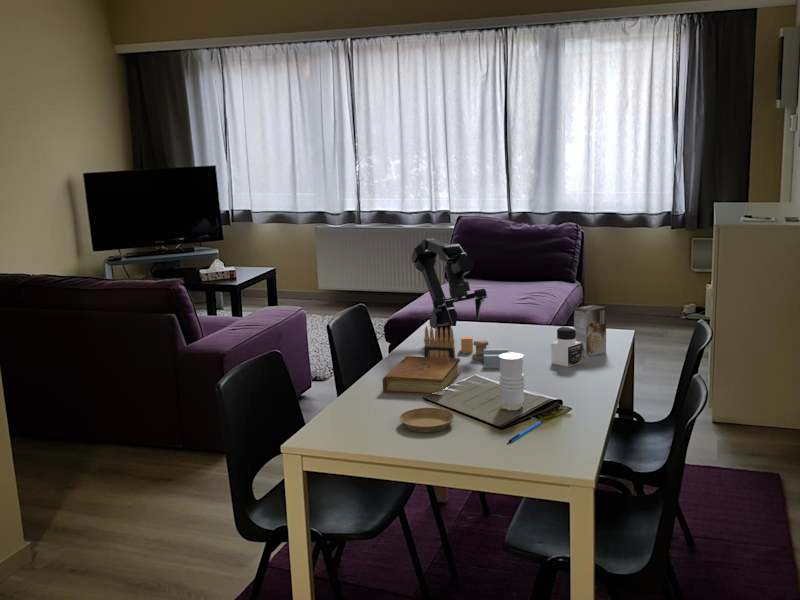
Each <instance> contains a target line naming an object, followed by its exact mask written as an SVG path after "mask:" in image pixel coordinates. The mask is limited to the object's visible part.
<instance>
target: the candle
mask: <svg viewBox="0 0 800 600" xmlns="http://www.w3.org/2000/svg"><path fill="white" fill-rule="evenodd" d="M499 358H500V368H499V372H500V374H499V376H498V378H499V379H498V380H499V384H498V385H499V387H498V388H499V401H500V403H502V404H503V403H504V404H519V403H521V404H522V403H523V402H524V401H525V395H524V390H525V373H524V372H523V371H524V369H523V366H524V365H523V363H524V362H523V361H524V360H523V359H524V354H522V353H519V352H508V353H503V354H500V355H499Z"/></svg>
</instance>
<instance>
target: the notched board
mask: <svg viewBox="0 0 800 600" xmlns="http://www.w3.org/2000/svg"><path fill="white" fill-rule="evenodd" d="M503 353H509V348H486V349H484V360H483V368H484V369H500V358H499V355H500V354H503Z"/></svg>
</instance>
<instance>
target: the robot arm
mask: <svg viewBox="0 0 800 600" xmlns="http://www.w3.org/2000/svg"><path fill="white" fill-rule="evenodd" d="M437 256H438V258H439V259H440V261H442V262H444V263H445V265H444V267H443V270H444V271H445V272H446V276H447V282H448V287H449V288H448V291H449V297H447V298H446V296H445V293H444V291H443V287H442V285H441V282H440V279H439V277H438V274H437V271H436V269H435V264H436V261H437V259H436V258H437ZM411 261H412V263H413V265H414V267H415V269H416V270H418V271H419V272H420V273H422V276H423V278H424V281H425V285H426V287H427V289H428V293H429V295H430V298H431V300H432V305H433V307H432V310H431V313H432V314H431V316H430V318H429V328H431V327H432V328H433V330H435V328H436V327H437V328H438V335H439V339H440V328H441V327H442V329H443V335H444V339H445V328H446V327H447V329H448V336H449V339H450V329H451V327H456V326H457V322H458V321H457V320H458V312H457V310H456V308H455V305H454V304H455V303H458V302H459V303H460V302H463V301H469V300H473V299H474V303H475V316H476V320H477V321H479V320H480V310H481V306H482V303H483V302H485V299H488V298H489V297H488V294H487V293H488V292H487V290H486V288H480V289H475V290H473V293H468V292H469V291H470V290H471V288H470V283H469V280H466V279H465V277H464V276H465V275H467V274H468V273H470V272H471V271H472V270H474V266H475V263H474V262H475V261H473V259H472V258H471V257H470V256H468V255H467V252H465V251H464V249H463V248H462V246H461V244H459V243H450V244H449V243H445V242H442V241H440V240H438V239H436V238H434V237H432V238H424V239H422V240H421V243H420V244H419V245H417V246H416V247H414V248H413V251H412V254H411ZM434 345H435V342H434Z"/></svg>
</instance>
